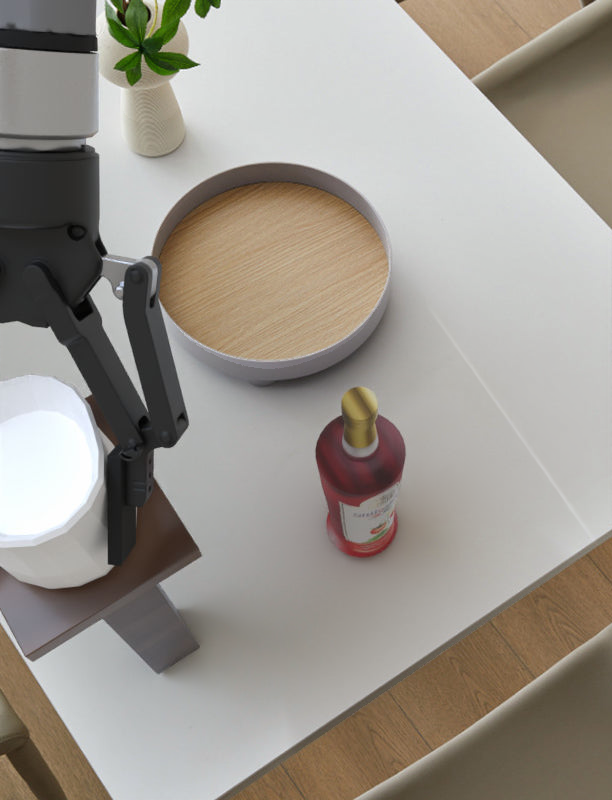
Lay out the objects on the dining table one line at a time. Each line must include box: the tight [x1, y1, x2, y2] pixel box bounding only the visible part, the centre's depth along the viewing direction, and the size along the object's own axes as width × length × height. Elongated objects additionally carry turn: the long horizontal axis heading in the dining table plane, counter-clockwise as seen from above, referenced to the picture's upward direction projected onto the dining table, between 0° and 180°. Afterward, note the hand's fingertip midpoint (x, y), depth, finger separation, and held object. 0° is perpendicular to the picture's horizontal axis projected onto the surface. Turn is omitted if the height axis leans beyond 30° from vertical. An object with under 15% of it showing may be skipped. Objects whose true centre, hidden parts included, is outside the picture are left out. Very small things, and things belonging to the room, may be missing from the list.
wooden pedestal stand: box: [0, 393, 203, 675], centre depth 78 cm, size 13×12×35 cm
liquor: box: [314, 386, 407, 558], centre depth 86 cm, size 7×7×28 cm
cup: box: [0, 373, 137, 589], centre depth 58 cm, size 10×10×10 cm
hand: (32, 543), depth 57 cm, fingers closed on cup, 10 cm apart
